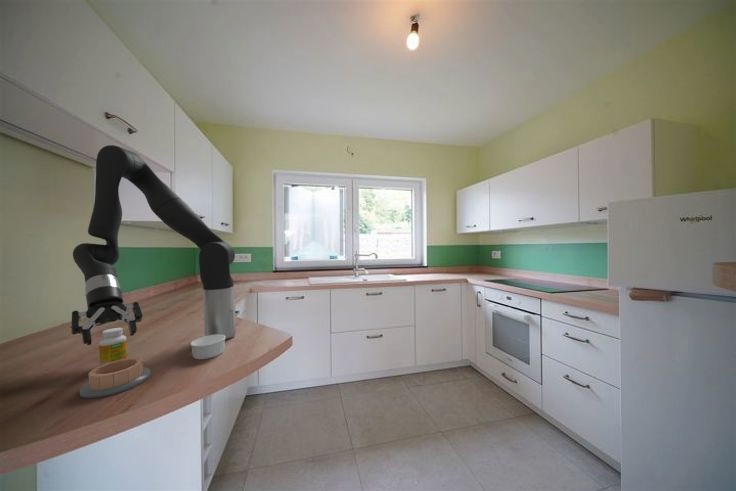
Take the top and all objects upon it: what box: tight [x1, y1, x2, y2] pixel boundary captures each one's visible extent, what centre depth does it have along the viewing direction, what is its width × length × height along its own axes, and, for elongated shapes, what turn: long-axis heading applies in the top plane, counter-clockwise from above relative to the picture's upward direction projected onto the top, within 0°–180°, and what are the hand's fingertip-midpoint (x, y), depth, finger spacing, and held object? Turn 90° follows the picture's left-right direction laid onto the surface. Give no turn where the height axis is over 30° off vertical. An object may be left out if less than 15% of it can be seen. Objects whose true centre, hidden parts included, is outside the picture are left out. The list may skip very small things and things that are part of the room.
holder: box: [79, 357, 151, 399], centre depth 61 cm, size 12×12×4 cm
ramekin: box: [189, 334, 226, 360], centre depth 77 cm, size 9×9×4 cm
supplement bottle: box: [98, 327, 128, 366], centre depth 71 cm, size 5×5×10 cm
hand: (112, 338), depth 72 cm, fingers open, 8 cm apart
